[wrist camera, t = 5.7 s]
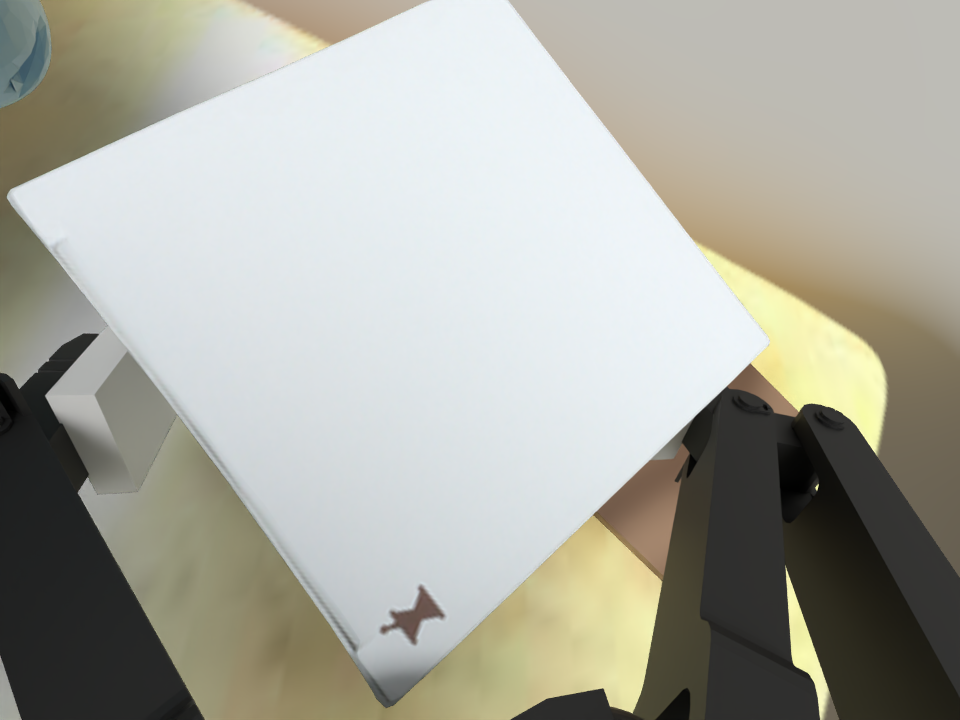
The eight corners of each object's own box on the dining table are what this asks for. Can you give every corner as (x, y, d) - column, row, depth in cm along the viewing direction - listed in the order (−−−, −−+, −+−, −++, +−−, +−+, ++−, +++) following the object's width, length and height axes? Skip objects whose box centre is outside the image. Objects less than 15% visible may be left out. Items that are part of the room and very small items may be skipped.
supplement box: (521, 410, 25) (800, 354, 9) (381, 526, 22) (402, 755, 6) (415, 270, 25) (494, -51, 9) (262, 368, 22) (-34, 174, 6)
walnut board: (519, 444, 24) (526, 444, 23) (653, 285, 28) (665, 278, 27) (688, 606, 25) (704, 614, 24) (798, 430, 29) (816, 430, 27)
